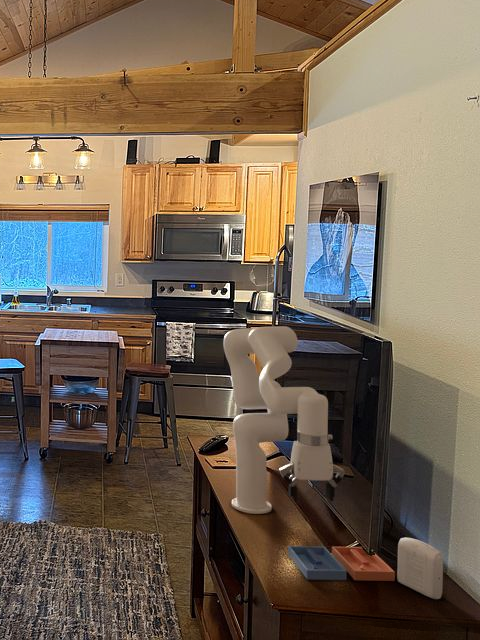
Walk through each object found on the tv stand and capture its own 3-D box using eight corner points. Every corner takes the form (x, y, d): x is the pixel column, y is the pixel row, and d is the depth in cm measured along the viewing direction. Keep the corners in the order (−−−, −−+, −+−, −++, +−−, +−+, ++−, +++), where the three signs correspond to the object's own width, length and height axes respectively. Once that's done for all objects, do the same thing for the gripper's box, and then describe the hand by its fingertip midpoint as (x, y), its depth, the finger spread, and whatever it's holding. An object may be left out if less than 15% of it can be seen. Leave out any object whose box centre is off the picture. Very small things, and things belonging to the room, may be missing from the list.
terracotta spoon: (345, 556, 181) (345, 549, 181) (359, 556, 181) (360, 549, 181) (364, 576, 170) (364, 568, 170) (379, 576, 170) (379, 568, 170)
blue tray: (287, 554, 184) (287, 545, 184) (324, 555, 183) (324, 546, 183) (307, 579, 170) (307, 570, 170) (346, 580, 169) (346, 570, 169)
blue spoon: (301, 555, 182) (301, 548, 182) (315, 555, 182) (315, 548, 182) (317, 575, 171) (317, 567, 171) (332, 575, 171) (332, 568, 171)
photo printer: (445, 597, 160) (446, 548, 160) (434, 601, 159) (435, 551, 158) (405, 578, 170) (405, 531, 169) (394, 581, 168) (394, 535, 167)
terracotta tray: (331, 555, 183) (331, 546, 183) (368, 555, 182) (368, 547, 182) (354, 580, 169) (354, 570, 169) (394, 581, 168) (394, 571, 168)
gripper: (338, 434, 182) (337, 494, 183) (275, 434, 183) (274, 493, 185) (351, 443, 174) (349, 505, 176) (284, 442, 176) (283, 504, 177)
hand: (311, 499), depth 180 cm, fingers open, 9 cm apart
